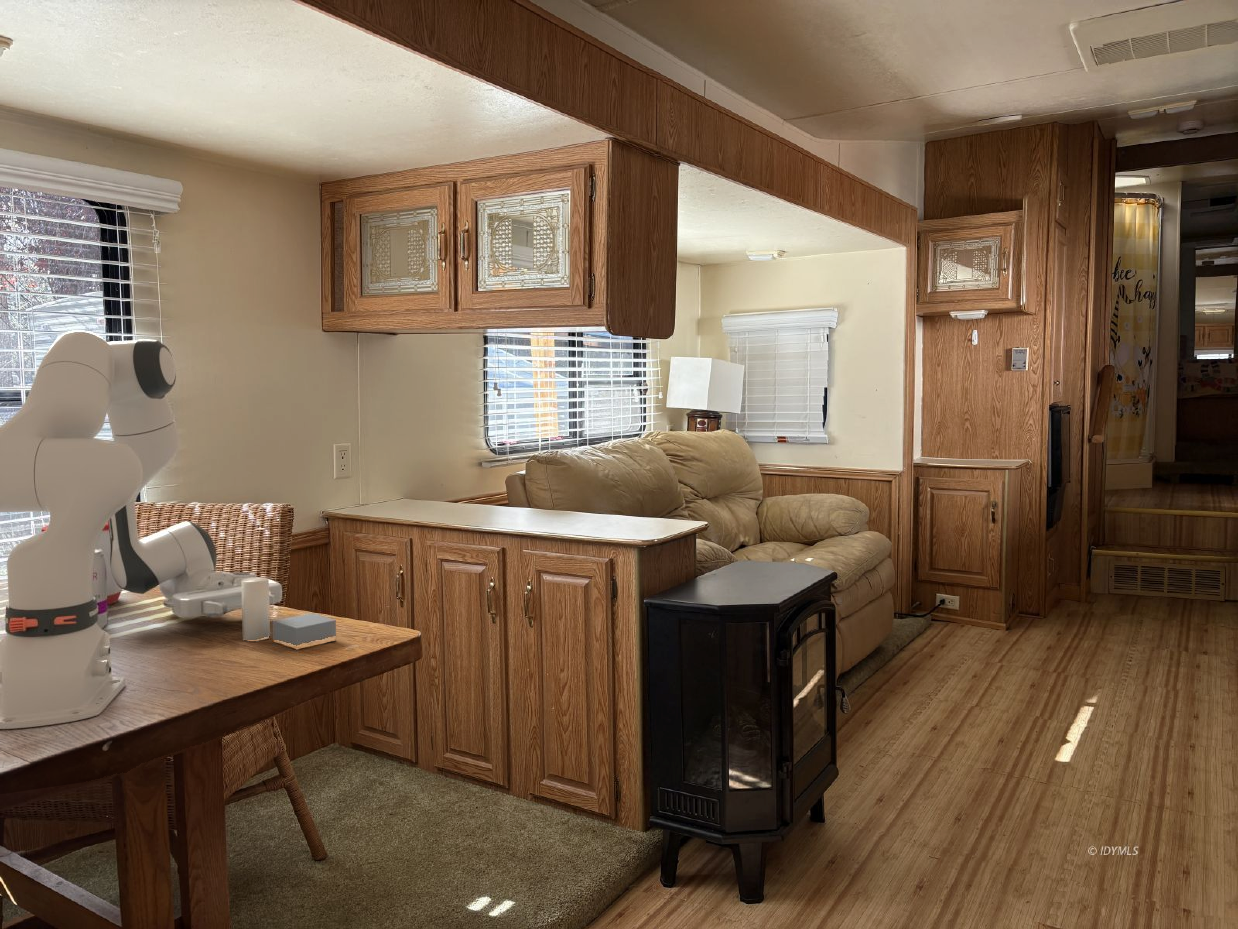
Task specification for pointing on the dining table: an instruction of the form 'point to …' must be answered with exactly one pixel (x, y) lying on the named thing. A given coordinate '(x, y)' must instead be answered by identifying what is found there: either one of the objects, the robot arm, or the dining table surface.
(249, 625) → the white pillar candle
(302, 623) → the plinth
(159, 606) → the dining table surface
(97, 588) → the supplement can
